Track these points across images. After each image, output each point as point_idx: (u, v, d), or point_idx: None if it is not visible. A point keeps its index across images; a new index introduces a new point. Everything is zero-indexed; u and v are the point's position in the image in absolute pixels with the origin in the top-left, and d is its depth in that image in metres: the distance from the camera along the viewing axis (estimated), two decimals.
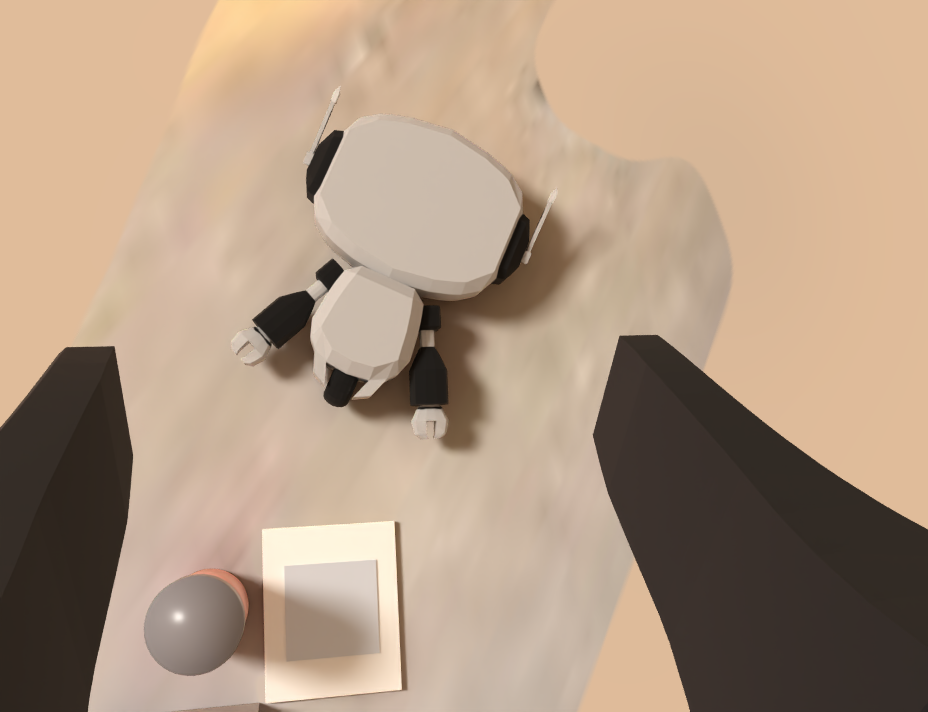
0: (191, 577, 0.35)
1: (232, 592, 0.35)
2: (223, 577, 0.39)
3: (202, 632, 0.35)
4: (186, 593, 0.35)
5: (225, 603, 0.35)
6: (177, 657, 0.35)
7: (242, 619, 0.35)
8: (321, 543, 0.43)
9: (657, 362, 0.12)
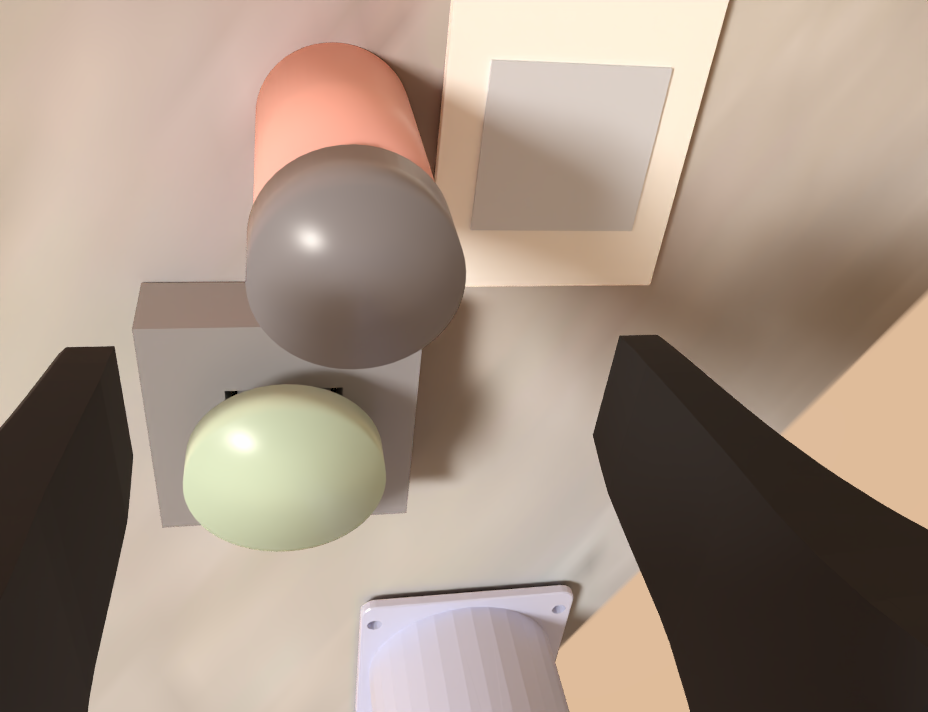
0: (355, 184, 0.14)
1: (447, 224, 0.15)
2: (393, 119, 0.17)
3: (375, 297, 0.15)
4: (343, 220, 0.14)
5: (430, 246, 0.15)
6: (320, 338, 0.16)
7: (463, 279, 0.16)
8: (573, 20, 0.20)
9: (657, 362, 0.12)
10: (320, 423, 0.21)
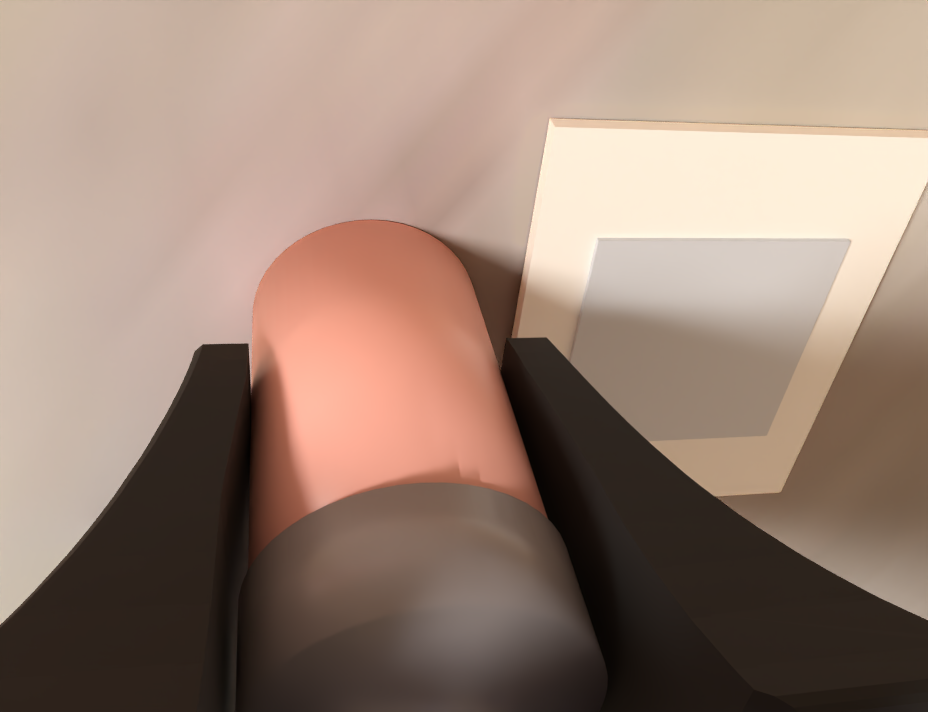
0: (431, 603, 0.08)
1: (585, 635, 0.09)
2: (470, 384, 0.11)
3: None
4: (407, 652, 0.08)
5: (553, 667, 0.09)
6: None
7: (600, 696, 0.09)
8: (719, 183, 0.14)
9: (537, 365, 0.12)
10: None
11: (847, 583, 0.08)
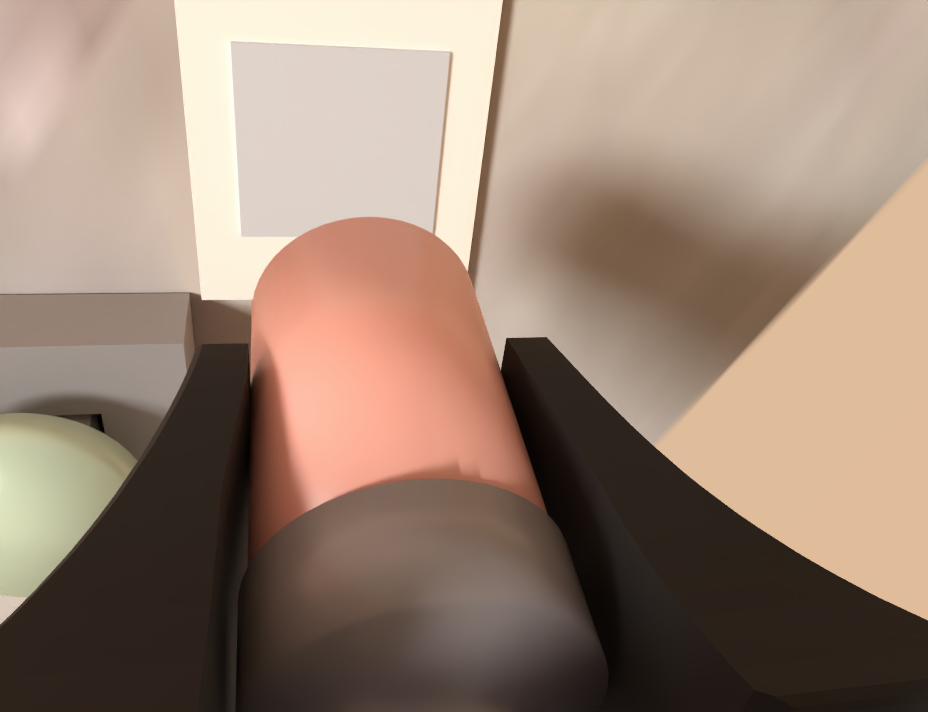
0: (431, 600, 0.08)
1: (586, 631, 0.09)
2: (470, 380, 0.11)
3: None
4: (407, 648, 0.08)
5: (553, 663, 0.09)
6: None
7: (601, 692, 0.09)
8: None
9: (536, 366, 0.12)
10: (49, 458, 0.18)
11: (847, 583, 0.08)
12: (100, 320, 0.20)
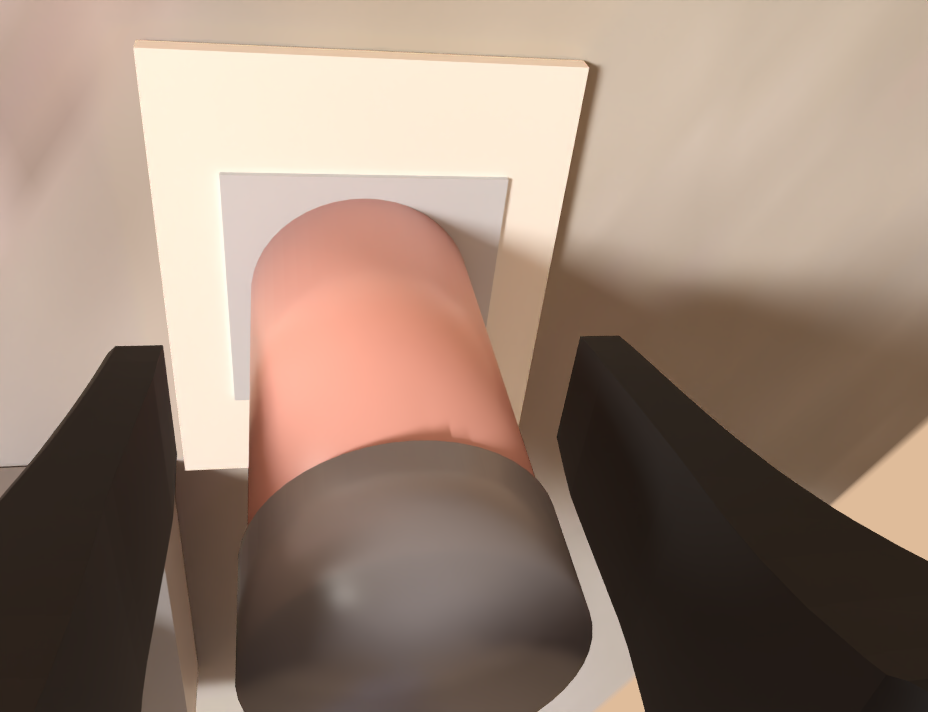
0: (422, 550, 0.08)
1: (570, 584, 0.09)
2: (461, 352, 0.11)
3: (445, 680, 0.10)
4: (399, 598, 0.09)
5: (539, 616, 0.09)
6: None
7: (586, 645, 0.10)
8: (343, 114, 0.13)
9: (615, 363, 0.12)
10: None
11: None
12: None
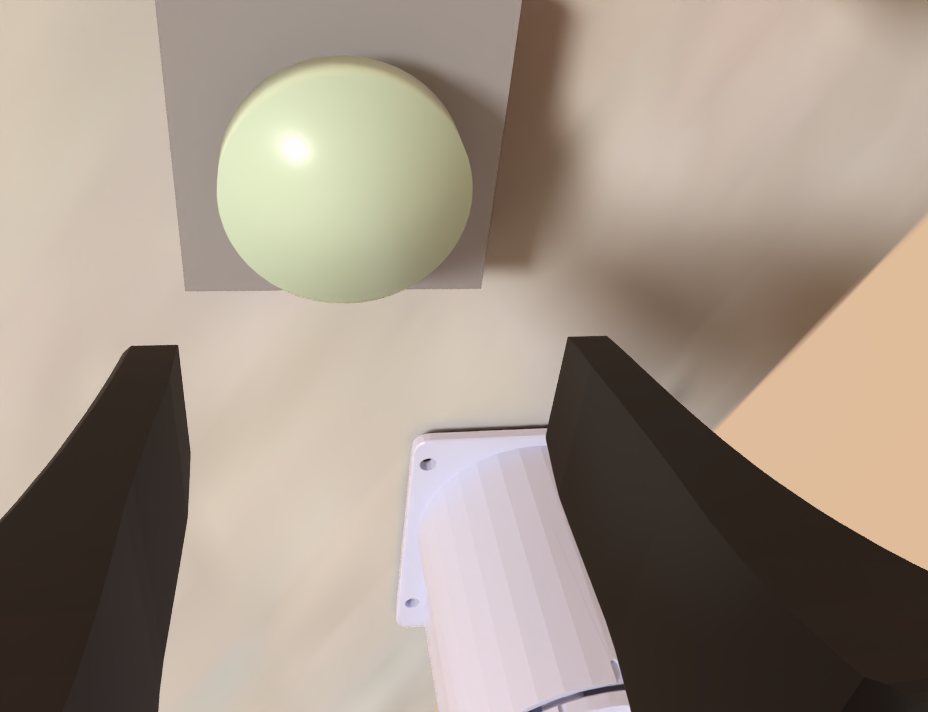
0: None
1: None
2: None
3: None
4: None
5: None
6: None
7: None
8: None
9: (602, 364, 0.12)
10: (395, 99, 0.16)
11: None
12: None
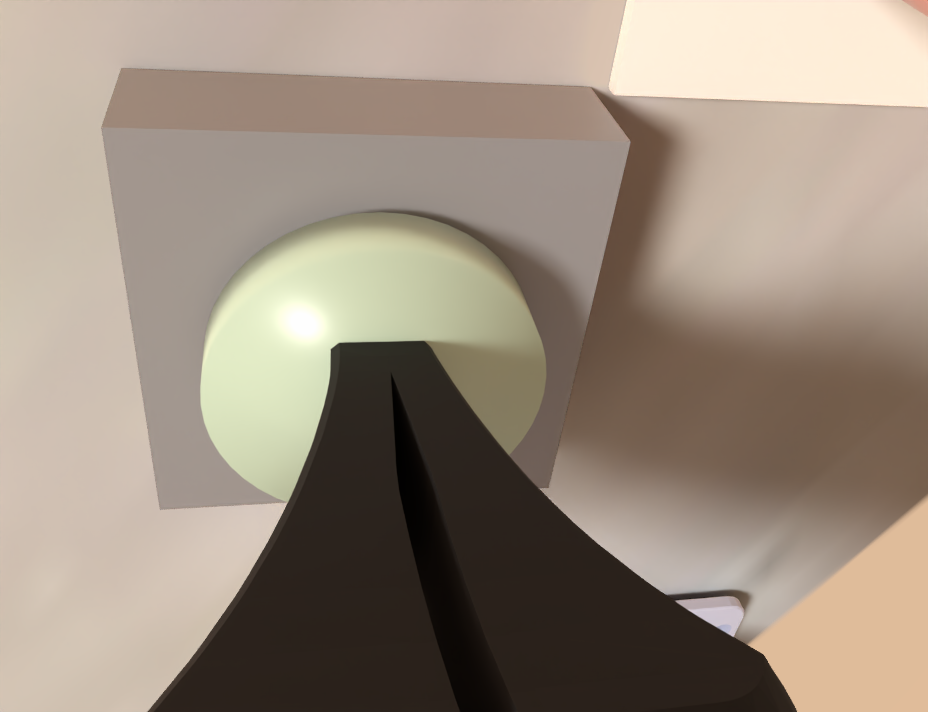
0: None
1: None
2: None
3: None
4: None
5: None
6: None
7: None
8: None
9: (403, 369, 0.11)
10: (448, 277, 0.12)
11: (666, 599, 0.08)
12: (488, 110, 0.13)
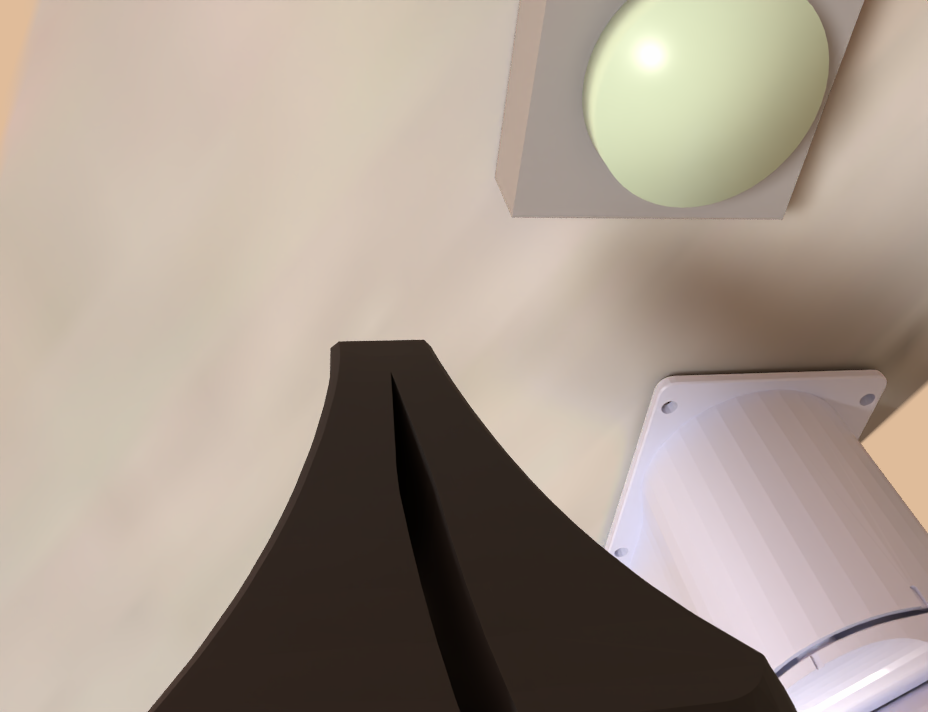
0: None
1: None
2: None
3: None
4: None
5: None
6: None
7: None
8: None
9: (403, 369, 0.11)
10: None
11: (666, 599, 0.08)
12: None
